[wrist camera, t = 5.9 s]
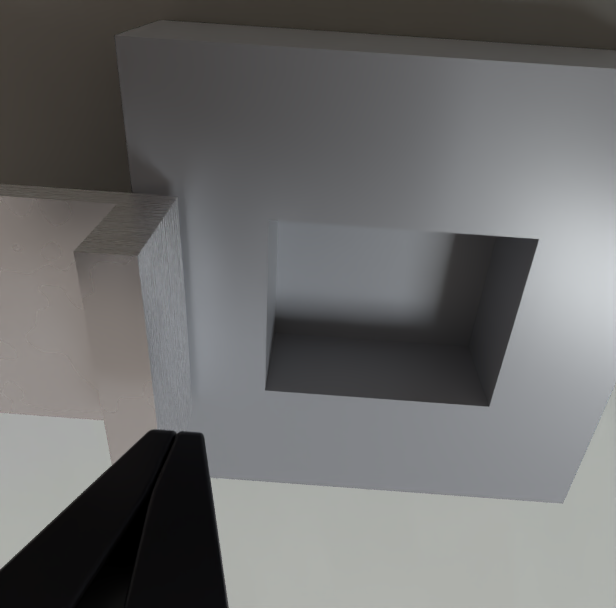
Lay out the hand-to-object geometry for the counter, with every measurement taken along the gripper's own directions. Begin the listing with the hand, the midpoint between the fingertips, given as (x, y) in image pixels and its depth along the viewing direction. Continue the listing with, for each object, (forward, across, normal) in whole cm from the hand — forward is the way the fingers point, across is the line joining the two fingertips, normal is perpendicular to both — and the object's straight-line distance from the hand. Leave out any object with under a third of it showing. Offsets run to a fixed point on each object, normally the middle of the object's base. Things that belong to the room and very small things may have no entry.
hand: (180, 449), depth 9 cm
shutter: (+4, +4, 0) cm, 6 cm away
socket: (+7, -4, 0) cm, 8 cm away
